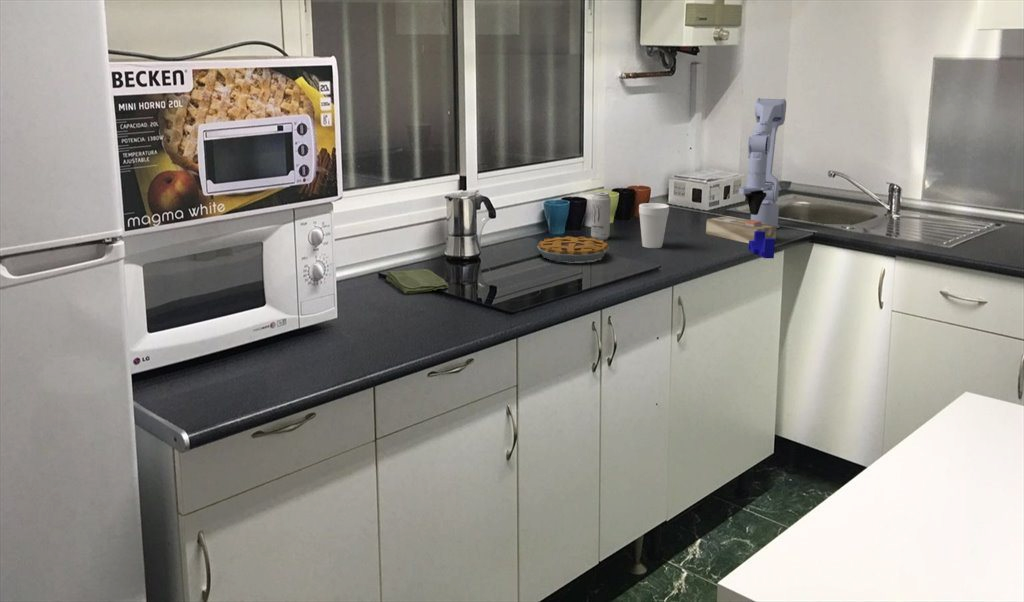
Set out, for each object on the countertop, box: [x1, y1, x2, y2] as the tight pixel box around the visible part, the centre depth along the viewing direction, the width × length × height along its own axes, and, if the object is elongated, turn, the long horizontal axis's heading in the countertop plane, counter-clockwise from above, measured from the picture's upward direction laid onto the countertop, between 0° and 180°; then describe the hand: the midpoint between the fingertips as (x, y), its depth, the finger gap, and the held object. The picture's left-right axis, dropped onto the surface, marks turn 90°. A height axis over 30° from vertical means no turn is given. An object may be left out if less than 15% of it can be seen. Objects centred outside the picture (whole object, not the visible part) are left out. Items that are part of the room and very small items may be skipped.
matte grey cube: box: [723, 219, 737, 222], centre depth 331 cm, size 4×4×5 cm
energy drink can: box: [590, 191, 611, 241], centre depth 322 cm, size 6×6×15 cm
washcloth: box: [385, 268, 449, 295], centre depth 266 cm, size 13×18×3 cm
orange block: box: [745, 219, 761, 227], centre depth 323 cm, size 4×4×5 cm
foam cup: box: [638, 202, 670, 249], centre depth 312 cm, size 10×9×13 cm
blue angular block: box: [748, 231, 776, 259], centre depth 304 cm, size 12×4×6 cm, turn 2°
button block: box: [705, 215, 777, 244], centre depth 327 cm, size 10×21×5 cm, turn 37°
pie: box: [536, 235, 610, 262], centre depth 299 cm, size 22×22×5 cm
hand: (753, 214), depth 321 cm, fingers closed
